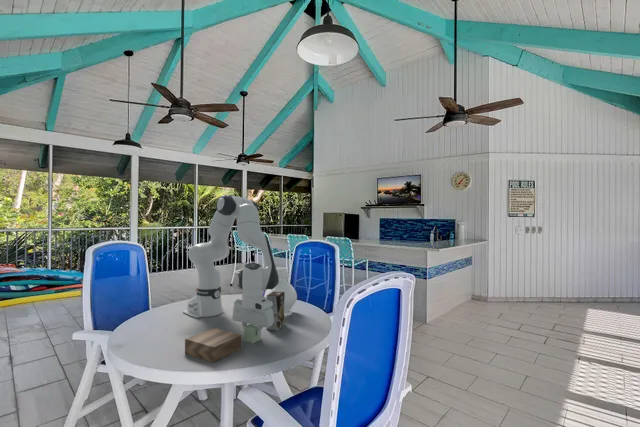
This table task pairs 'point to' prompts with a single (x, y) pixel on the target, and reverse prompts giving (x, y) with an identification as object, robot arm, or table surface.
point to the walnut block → (213, 344)
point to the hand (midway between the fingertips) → (252, 333)
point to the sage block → (251, 333)
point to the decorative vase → (284, 290)
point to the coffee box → (277, 309)
